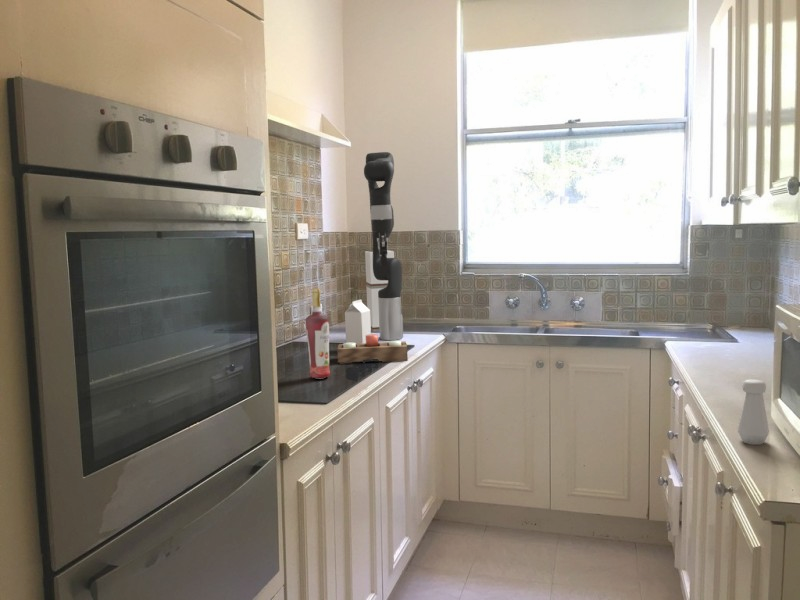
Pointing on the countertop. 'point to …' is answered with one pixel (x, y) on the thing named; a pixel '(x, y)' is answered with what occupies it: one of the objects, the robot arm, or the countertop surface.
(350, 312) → the milk carton
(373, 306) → the white notched tower
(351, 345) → the pale green sphere
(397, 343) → the cream white sphere
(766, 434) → the salt shaker
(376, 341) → the red ball
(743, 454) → the countertop surface
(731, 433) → the countertop surface
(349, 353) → the wooden ball rack
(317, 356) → the liquor
